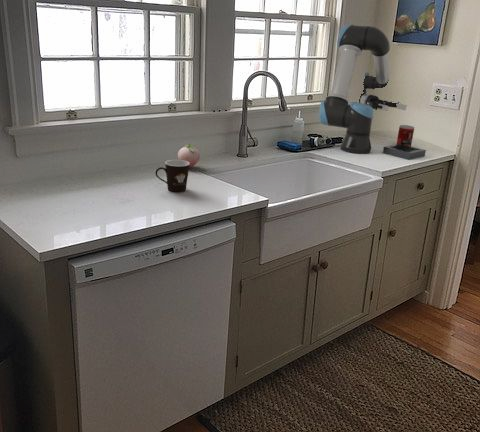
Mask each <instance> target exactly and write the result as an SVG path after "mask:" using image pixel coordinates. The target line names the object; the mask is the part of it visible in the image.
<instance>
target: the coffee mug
mask: <svg viewBox="0 0 480 432" xmlns="http://www.w3.org/2000/svg"><path fill="white" fill-rule="evenodd" d="M164 164H165V167H158V168H156V170H155V176H156V177H157V179H159V181H162V182H164V183H165V184H167V185H166V186H167V190H168V192H170V193H175V194H177V193H178V194H180V193H184V192H186V189H187V185H188V178H189V171H190V170H189V169H190V168H189V165H190V163H189V162H187V161H184V160H179V159H171V160H169V159H168V160H166V161H165V162H164ZM160 170H163V171H164V172H165V175H166V176H165V177H166V180H165V179H163V178H161V177H159V175H158V172H159V171H160Z"/></svg>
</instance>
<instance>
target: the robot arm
mask: <svg viewBox="0 0 480 432" xmlns="http://www.w3.org/2000/svg"><path fill="white" fill-rule="evenodd" d="M337 38H338V39H337V47H338V50H339V52H340V57H339V59H338V64H337V67H336V71H335V75H334V78H333V82H332V86H331V90H330V93H329V95H327V96H326V98H325V99H324V100H322V101H321V102H320V104H319V109H318V110H319V111H318V115H319V122H320V124H322V125H325V126H329V127H338V128H343V129H346V131H345V132H346V134H345V135H344V138H343V139H342V142H341V145H340V150H342V151H344V152H346V153H352V154H360V155H362V154H364V155H365V154H371V151H372V144H371V143H372V142H371V138H370V136H371V129H372V128H371V127H372V121H373V118H374V111H378V110H380V111H385V112H387V111H388V108H396V109H399V110H403V111H407V105H406V104H404V103H403V104H402V103H400V101H398V102H397V103H392V102H393V101H390V102H388V101H389V100H382V99H380V98H379V97H378V96H376V95H373V94H370V93H367V91H366V89H367V90H374V89H375V88H383V87H385V86H386V85H387V83H388V81H389V77H391V76H390V63H389V61H390V60H389V52H390V47H391V45H390V41H389V38H388V37H387V35H386V34H385V33H384V32H383V30H381V29H380V28H379V27H376V26H371V25H357V24H356V25H354V24H344V25H343V26H342V28H341V29H340V31H339V34H338V37H337ZM363 51H370V52H371V55H373V63H374V65H373V66H374V73H375V76H376V77H373V76H374V75H371V76H369V75H370V72H369V71H366V73H365V79H364V82H363V83H364V84H363V85H364V90H363V92H364V93H363V94H361V96H360V99H359V103H357V102H349V99H347V97H348V94H349V90H350V86H351V82H352V78H353V75H354V71H355V67H356V63H357V59H358V57H359V56H361V55H362V52H363ZM368 72H369V73H368ZM399 103H400V104H399ZM396 104H397V105H396Z"/></svg>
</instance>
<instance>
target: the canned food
mask: <svg viewBox="0 0 480 432" xmlns="http://www.w3.org/2000/svg"><path fill="white" fill-rule="evenodd" d="M398 128H399V129H398V134H397V137H396V138H397V140H396V144H403V145H408V146H412V144H413V143H412V142H413V138H414V132H415V127H414V126H413V125H407V124H400V125H399V127H398Z"/></svg>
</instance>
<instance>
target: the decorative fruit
mask: <svg viewBox="0 0 480 432" xmlns="http://www.w3.org/2000/svg"><path fill="white" fill-rule="evenodd" d="M177 158H178V159H177V160H184V161H187V162H189V163H190V165H189V169H190V168H192V167H194V166H196V165H197V164H198V162H199V161H200V158H201V155H200V152H199V151H198V149H197V148H194V147H192V146H191V145H190V143H189V144H186V145H184V147H182V148H180V149H179V150H178V153H177Z"/></svg>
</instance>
